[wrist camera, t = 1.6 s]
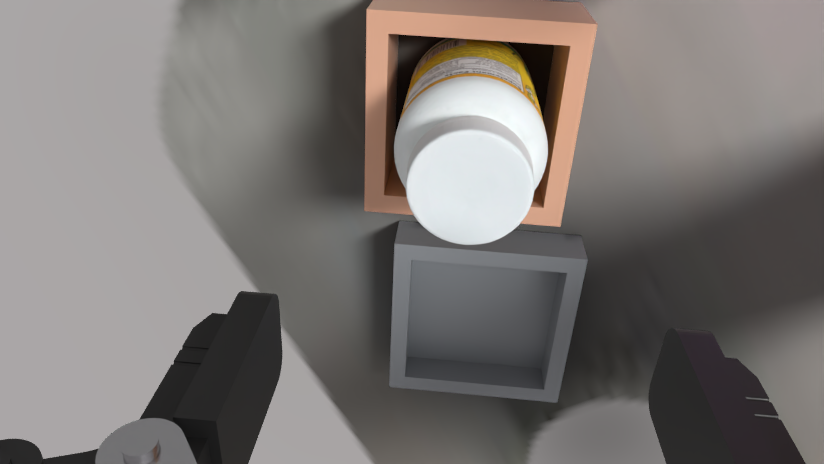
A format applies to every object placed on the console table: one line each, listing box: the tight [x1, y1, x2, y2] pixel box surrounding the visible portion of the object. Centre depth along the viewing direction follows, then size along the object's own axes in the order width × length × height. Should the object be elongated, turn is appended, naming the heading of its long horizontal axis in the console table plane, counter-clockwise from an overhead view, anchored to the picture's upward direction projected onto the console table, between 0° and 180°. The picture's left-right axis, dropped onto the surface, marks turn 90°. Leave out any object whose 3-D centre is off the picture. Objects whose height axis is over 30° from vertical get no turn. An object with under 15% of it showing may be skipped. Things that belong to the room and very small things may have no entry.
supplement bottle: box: [394, 38, 548, 245], centre depth 24 cm, size 5×5×10 cm
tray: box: [389, 221, 588, 403], centre depth 33 cm, size 9×9×2 cm
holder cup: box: [364, 0, 598, 227], centre depth 26 cm, size 8×8×4 cm
